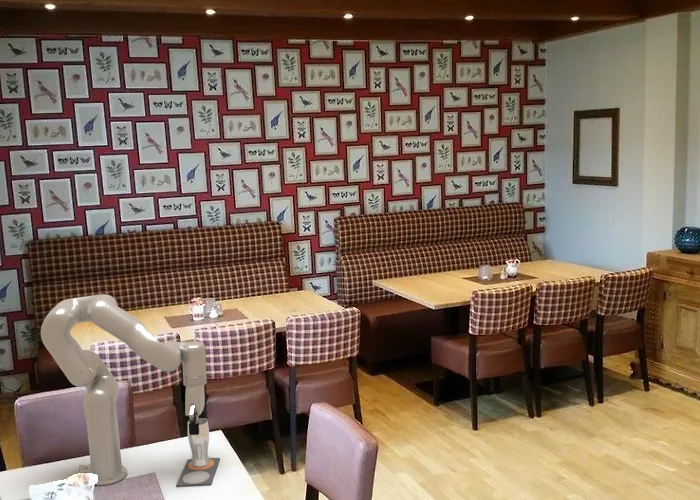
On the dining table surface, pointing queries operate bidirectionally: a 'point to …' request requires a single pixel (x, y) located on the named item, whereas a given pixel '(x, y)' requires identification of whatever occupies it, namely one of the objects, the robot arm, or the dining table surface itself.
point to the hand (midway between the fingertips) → (196, 428)
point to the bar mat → (198, 474)
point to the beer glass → (200, 445)
